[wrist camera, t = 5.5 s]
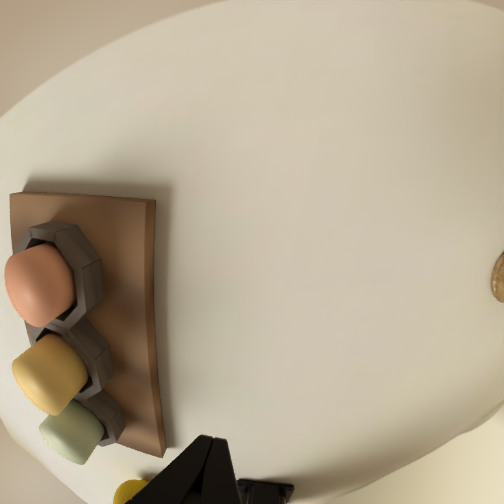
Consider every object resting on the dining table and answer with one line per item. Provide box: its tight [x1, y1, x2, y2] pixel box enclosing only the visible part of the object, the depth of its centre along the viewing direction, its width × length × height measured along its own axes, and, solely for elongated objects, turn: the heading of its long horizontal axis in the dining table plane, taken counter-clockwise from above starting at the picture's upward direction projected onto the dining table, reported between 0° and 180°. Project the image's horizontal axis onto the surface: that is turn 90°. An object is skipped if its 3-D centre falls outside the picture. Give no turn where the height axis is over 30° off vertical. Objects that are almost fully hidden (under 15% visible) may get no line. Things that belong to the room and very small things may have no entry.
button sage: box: [39, 400, 104, 465], centre depth 19 cm, size 5×5×4 cm
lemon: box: [113, 479, 148, 504], centre depth 24 cm, size 6×6×8 cm
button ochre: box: [12, 334, 88, 416], centre depth 17 cm, size 5×5×4 cm
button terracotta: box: [5, 241, 77, 327], centre depth 16 cm, size 5×5×4 cm
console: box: [10, 192, 167, 458], centre depth 20 cm, size 25×14×4 cm, turn 174°
